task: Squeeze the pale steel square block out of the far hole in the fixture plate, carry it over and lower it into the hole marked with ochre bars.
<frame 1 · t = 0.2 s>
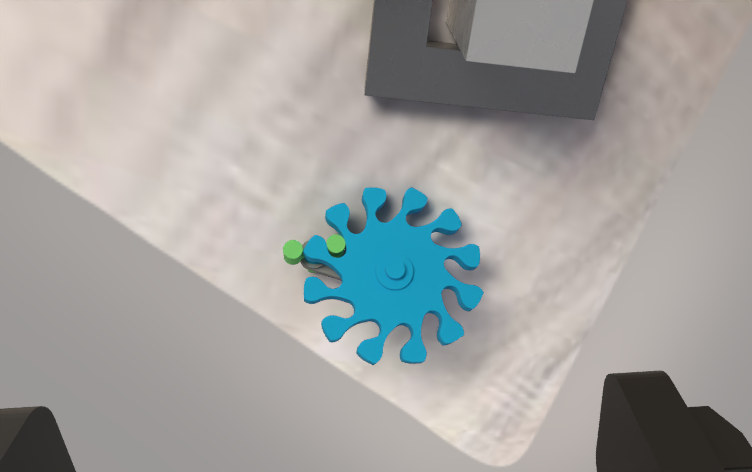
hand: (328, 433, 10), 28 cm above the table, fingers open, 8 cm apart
gear: (381, 237, 40), on the table
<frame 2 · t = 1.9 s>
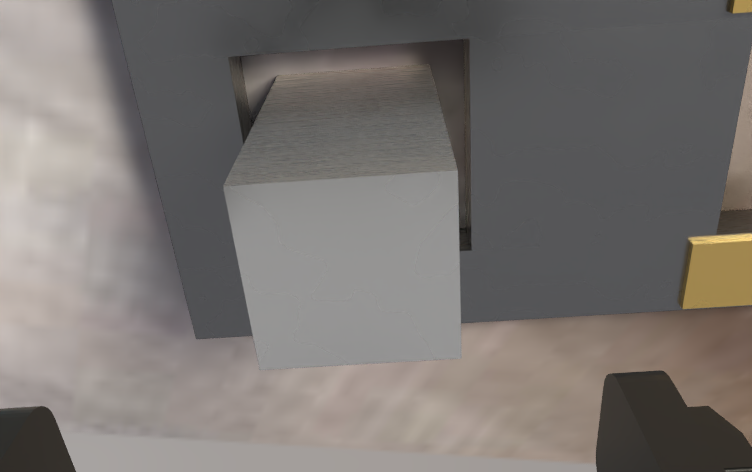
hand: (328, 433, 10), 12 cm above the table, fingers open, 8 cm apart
steel block: (359, 141, 21), resting in fixture plate
fixture plate: (587, 126, 21), on the table
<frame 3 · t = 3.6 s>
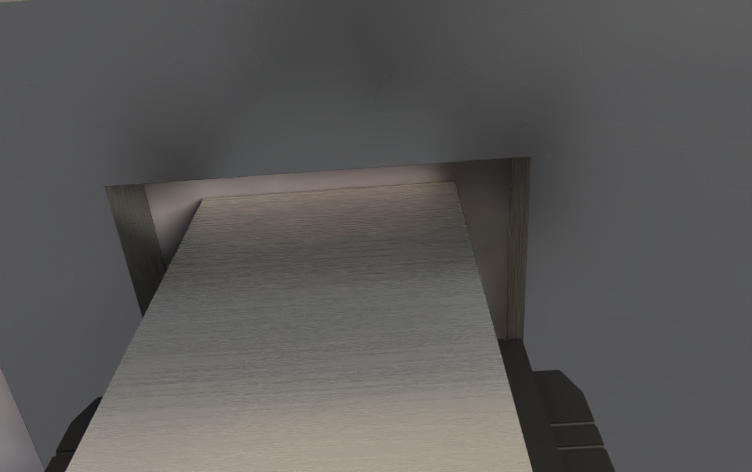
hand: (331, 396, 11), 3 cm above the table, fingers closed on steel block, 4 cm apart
steel block: (340, 295, 13), resting in fixture plate, touching gripper
fixture plate: (705, 271, 13), on the table
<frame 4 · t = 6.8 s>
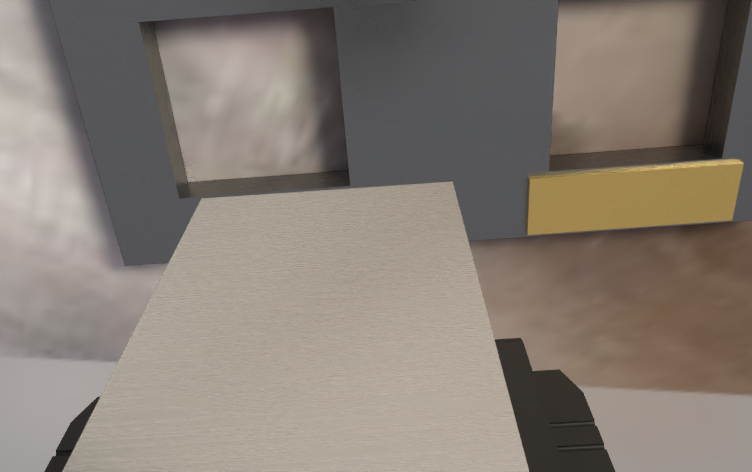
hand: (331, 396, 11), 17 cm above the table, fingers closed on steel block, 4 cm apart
steel block: (338, 295, 13), point 14 cm above the table, touching gripper
fixture plate: (443, 82, 25), on the table
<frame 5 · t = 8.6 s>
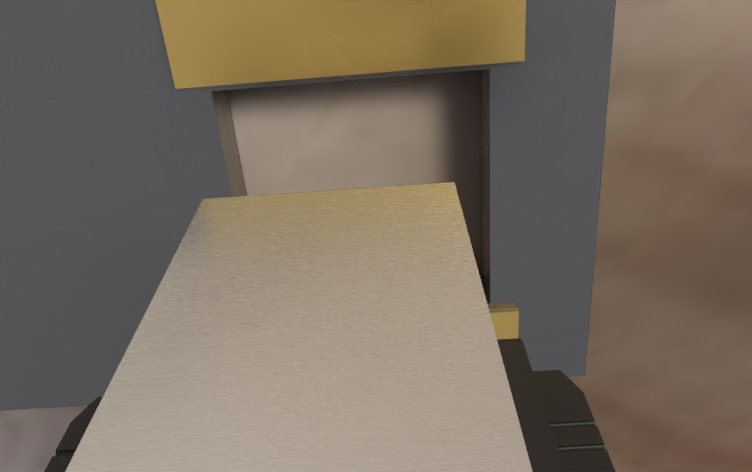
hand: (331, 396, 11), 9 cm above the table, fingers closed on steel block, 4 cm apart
steel block: (340, 295, 13), point 6 cm above the table, touching gripper
fixture plate: (113, 200, 19), on the table
when the fingers open (4 cm above the table, at t = 10.0 s): steel block stays where it is, resting in fixture plate.
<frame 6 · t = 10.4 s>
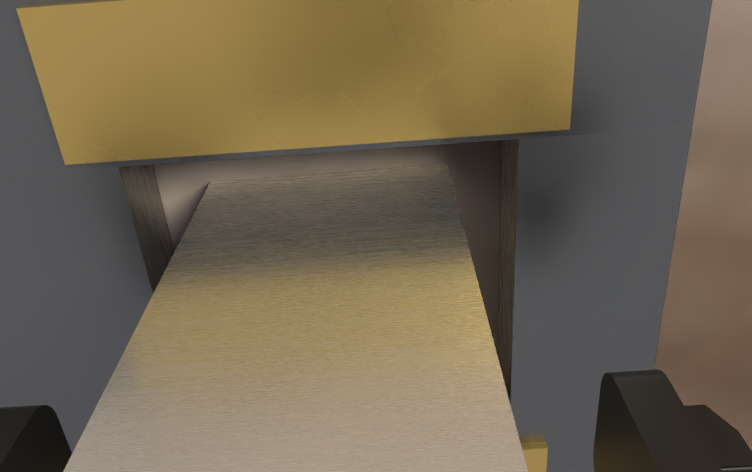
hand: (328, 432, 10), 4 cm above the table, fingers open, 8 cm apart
steel block: (340, 274, 14), resting in fixture plate
fixture plate: (2, 296, 14), on the table
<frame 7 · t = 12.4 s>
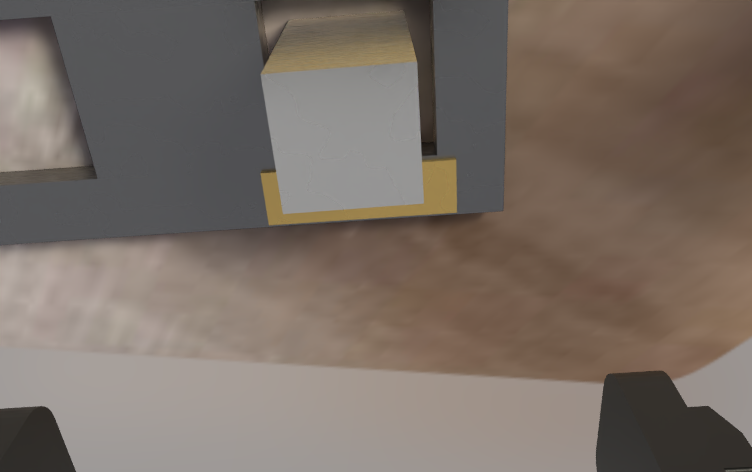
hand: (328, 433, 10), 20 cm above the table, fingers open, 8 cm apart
steel block: (351, 72, 27), resting in fixture plate
fixture plate: (180, 84, 28), on the table
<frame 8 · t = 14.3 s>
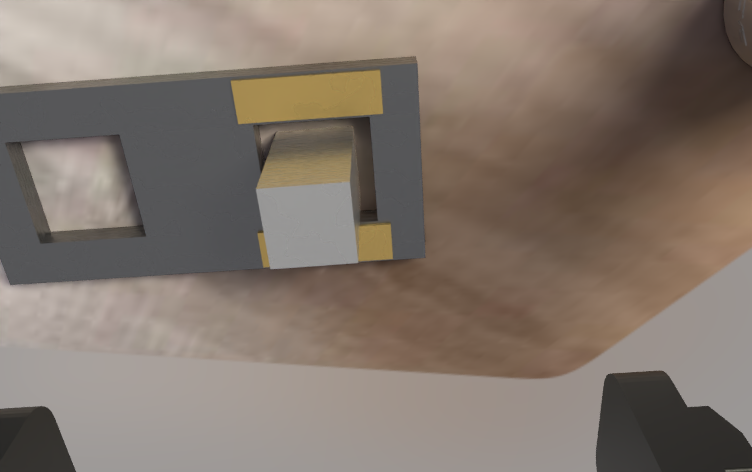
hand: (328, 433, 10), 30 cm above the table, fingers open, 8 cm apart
steel block: (319, 164, 40), resting in fixture plate
fixture plate: (202, 172, 40), on the table
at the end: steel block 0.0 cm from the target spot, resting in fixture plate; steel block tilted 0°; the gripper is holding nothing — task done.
